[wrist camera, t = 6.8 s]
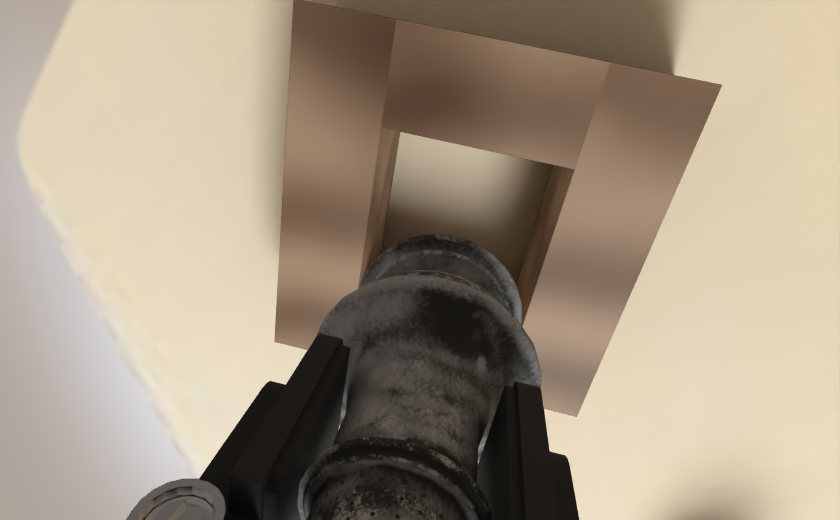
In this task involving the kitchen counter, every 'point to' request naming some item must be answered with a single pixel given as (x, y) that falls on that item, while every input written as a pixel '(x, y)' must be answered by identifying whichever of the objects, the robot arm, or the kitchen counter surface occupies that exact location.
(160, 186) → the kitchen counter surface
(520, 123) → the well block
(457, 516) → the dark stone chess piece
